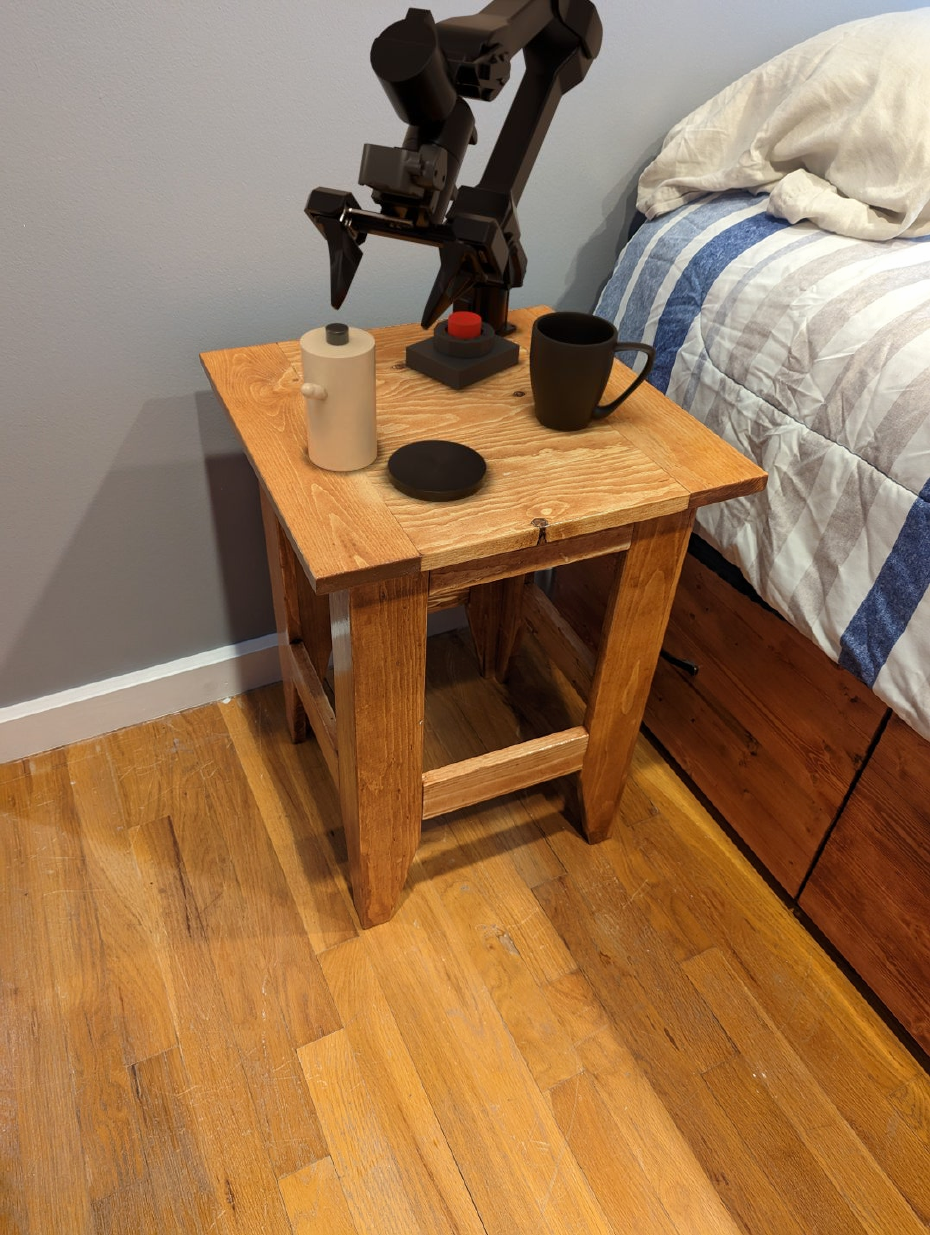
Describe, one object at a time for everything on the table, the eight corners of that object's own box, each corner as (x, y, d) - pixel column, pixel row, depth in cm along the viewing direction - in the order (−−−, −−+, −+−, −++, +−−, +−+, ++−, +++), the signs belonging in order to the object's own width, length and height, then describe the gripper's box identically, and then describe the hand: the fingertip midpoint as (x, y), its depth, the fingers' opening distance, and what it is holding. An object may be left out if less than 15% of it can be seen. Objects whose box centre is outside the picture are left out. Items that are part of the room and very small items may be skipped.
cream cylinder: (330, 430, 84) (322, 307, 76) (388, 446, 83) (387, 321, 74) (280, 474, 78) (266, 344, 70) (343, 492, 76) (336, 361, 68)
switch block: (466, 340, 101) (468, 307, 99) (518, 363, 98) (521, 329, 95) (405, 365, 96) (405, 330, 93) (458, 390, 92) (459, 354, 89)
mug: (632, 452, 84) (651, 360, 78) (513, 428, 86) (522, 336, 80) (645, 414, 90) (664, 325, 84) (534, 393, 92) (544, 305, 86)
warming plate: (436, 439, 84) (436, 429, 83) (505, 475, 80) (506, 466, 79) (367, 472, 79) (367, 463, 78) (438, 513, 74) (438, 504, 74)
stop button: (463, 324, 96) (464, 308, 95) (487, 334, 94) (488, 318, 93) (440, 332, 94) (441, 317, 93) (464, 343, 92) (465, 327, 91)
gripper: (306, 85, 75) (249, 255, 74) (507, 115, 70) (448, 297, 69) (353, 164, 85) (304, 312, 85) (530, 195, 81) (479, 352, 80)
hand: (378, 317), depth 80 cm, fingers open, 9 cm apart
